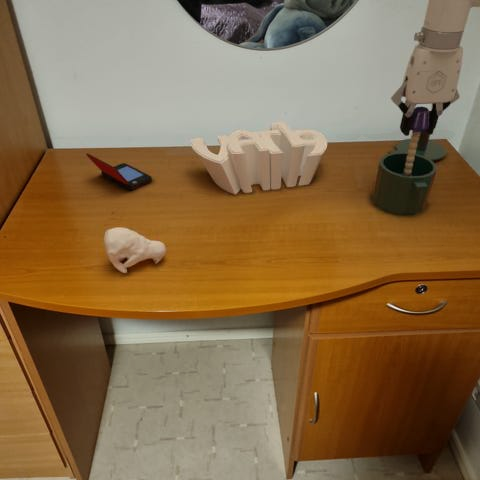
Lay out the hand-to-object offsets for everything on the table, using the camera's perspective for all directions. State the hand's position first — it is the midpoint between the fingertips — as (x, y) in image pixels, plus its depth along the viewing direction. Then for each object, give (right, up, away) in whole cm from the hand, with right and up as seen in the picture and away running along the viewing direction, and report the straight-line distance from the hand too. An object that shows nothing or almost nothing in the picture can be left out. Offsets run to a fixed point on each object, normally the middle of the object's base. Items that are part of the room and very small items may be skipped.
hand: (416, 131), depth 105 cm
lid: (+12, +7, +31) cm, 34 cm away
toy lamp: (0, -9, +8) cm, 12 cm away
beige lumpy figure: (-59, -30, -6) cm, 67 cm away
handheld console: (-69, -5, +19) cm, 72 cm away
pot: (0, -12, +12) cm, 17 cm away
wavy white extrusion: (-33, -3, +21) cm, 39 cm away
